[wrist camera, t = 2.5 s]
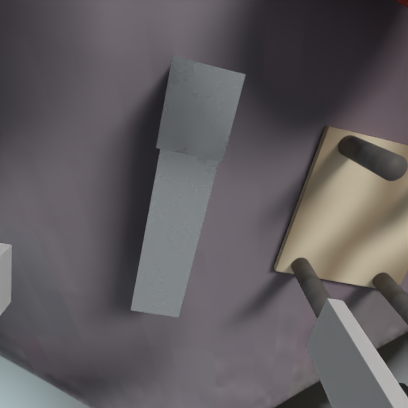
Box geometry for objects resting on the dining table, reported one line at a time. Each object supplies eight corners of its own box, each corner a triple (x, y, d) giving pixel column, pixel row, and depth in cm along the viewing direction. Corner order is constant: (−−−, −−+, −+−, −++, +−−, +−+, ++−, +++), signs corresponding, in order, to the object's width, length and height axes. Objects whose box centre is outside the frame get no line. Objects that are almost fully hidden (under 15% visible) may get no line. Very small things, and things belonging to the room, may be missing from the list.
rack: (273, 267, 30) (296, 318, 24) (325, 125, 25) (370, 144, 19) (392, 287, 31) (441, 341, 25) (462, 158, 26) (544, 186, 20)
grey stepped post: (183, 270, 29) (181, 317, 24) (138, 263, 29) (127, 309, 23) (231, 72, 23) (245, 74, 18) (175, 58, 23) (172, 55, 17)
